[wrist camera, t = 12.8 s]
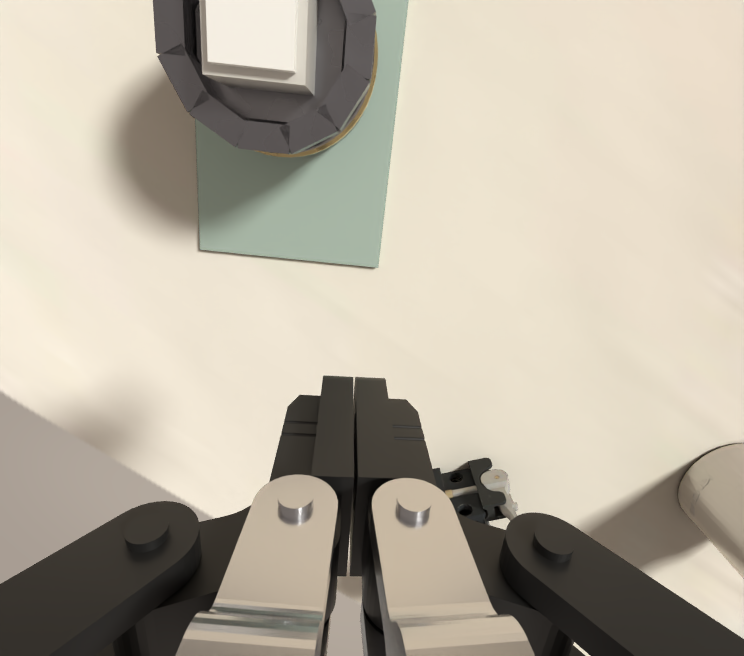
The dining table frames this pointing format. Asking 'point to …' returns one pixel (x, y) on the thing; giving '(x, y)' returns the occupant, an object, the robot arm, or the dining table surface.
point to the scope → (478, 492)
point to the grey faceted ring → (268, 108)
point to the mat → (308, 179)
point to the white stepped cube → (260, 44)
